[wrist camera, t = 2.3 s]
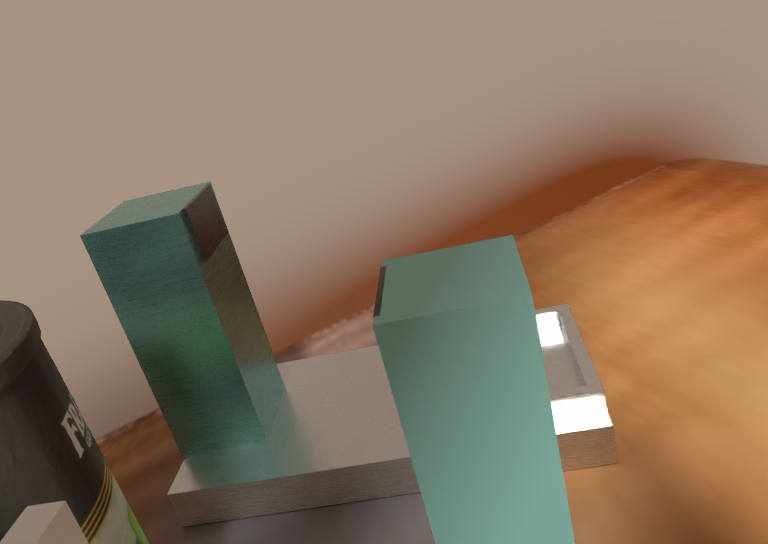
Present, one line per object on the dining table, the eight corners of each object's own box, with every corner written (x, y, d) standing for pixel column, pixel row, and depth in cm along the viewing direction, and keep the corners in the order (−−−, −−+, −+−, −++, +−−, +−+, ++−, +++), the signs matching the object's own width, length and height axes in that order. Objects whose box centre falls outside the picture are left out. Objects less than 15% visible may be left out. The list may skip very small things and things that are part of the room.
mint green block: (560, 503, 27) (512, 234, 22) (584, 599, 23) (532, 295, 18) (450, 518, 27) (381, 260, 23) (455, 614, 23) (371, 325, 19)
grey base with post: (570, 341, 37) (533, 93, 31) (618, 463, 28) (577, 144, 22) (234, 400, 40) (145, 184, 34) (177, 527, 31) (46, 261, 25)
